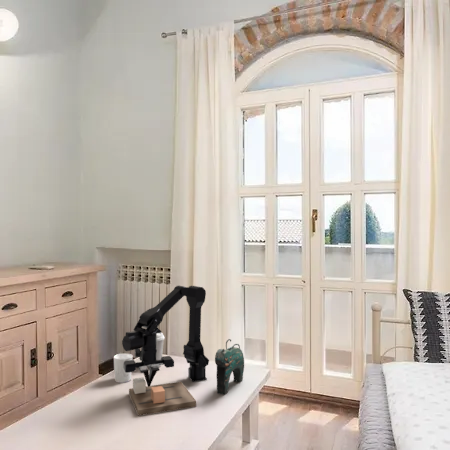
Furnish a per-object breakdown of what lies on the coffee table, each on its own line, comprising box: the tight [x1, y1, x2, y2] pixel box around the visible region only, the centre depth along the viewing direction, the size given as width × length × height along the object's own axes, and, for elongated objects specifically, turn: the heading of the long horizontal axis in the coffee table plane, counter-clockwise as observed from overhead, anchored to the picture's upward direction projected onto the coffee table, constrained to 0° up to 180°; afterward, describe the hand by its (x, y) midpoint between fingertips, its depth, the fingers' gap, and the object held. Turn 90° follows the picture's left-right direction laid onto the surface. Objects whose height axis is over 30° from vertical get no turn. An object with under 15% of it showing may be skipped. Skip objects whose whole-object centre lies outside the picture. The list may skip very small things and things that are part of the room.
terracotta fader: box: [151, 386, 165, 404], centre depth 152 cm, size 4×5×4 cm
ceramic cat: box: [214, 338, 245, 396], centre depth 170 cm, size 20×6×20 cm, turn 152°
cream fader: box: [132, 377, 147, 394], centre depth 160 cm, size 4×5×4 cm
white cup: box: [113, 353, 134, 384], centre depth 177 cm, size 8×8×10 cm
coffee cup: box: [147, 332, 166, 369], centre depth 194 cm, size 10×10×15 cm
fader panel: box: [128, 381, 197, 417], centre depth 157 cm, size 21×20×2 cm
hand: (148, 386), depth 161 cm, fingers closed
